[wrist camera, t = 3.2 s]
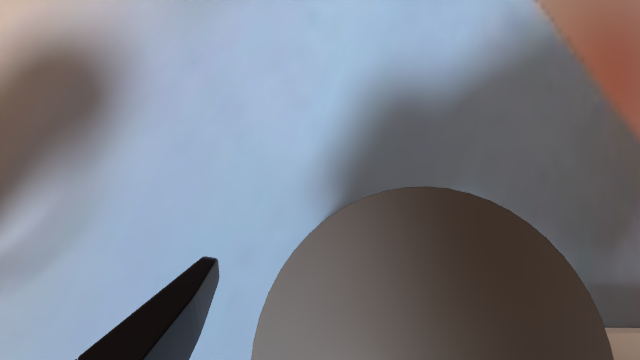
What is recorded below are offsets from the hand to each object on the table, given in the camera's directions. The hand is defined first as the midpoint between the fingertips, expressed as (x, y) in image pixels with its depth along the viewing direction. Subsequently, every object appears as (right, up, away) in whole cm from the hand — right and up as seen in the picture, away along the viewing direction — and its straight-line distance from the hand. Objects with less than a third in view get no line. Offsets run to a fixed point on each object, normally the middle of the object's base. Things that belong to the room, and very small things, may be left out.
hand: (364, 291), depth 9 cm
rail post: (0, -2, +8) cm, 8 cm away
